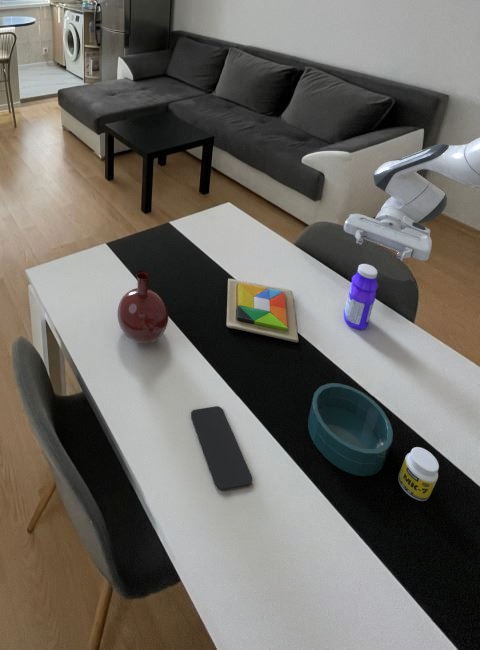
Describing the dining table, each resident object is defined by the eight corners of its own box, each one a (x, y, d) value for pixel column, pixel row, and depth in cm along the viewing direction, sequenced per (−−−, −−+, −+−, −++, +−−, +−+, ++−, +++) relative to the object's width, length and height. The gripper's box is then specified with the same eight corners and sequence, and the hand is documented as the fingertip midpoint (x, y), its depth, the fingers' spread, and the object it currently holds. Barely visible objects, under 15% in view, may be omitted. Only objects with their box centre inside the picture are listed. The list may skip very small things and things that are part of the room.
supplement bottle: (395, 486, 80) (405, 458, 77) (400, 466, 83) (411, 438, 80) (427, 508, 76) (439, 480, 73) (431, 486, 79) (443, 458, 76)
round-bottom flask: (144, 365, 105) (144, 303, 98) (107, 332, 115) (105, 273, 107) (178, 334, 113) (180, 275, 105) (141, 306, 122) (141, 250, 115)
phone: (221, 405, 94) (255, 483, 81) (221, 407, 95) (254, 485, 81) (189, 410, 94) (217, 489, 80) (188, 412, 94) (217, 492, 80)
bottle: (343, 307, 118) (354, 256, 112) (367, 314, 115) (380, 263, 109) (342, 326, 113) (354, 274, 106) (367, 334, 110) (382, 282, 103)
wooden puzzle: (226, 330, 113) (227, 321, 112) (227, 280, 130) (228, 271, 128) (298, 346, 108) (300, 336, 106) (290, 292, 124) (292, 283, 123)
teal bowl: (397, 446, 86) (405, 423, 83) (364, 493, 79) (372, 470, 76) (328, 393, 96) (334, 371, 94) (294, 430, 90) (299, 408, 87)
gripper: (353, 203, 130) (338, 224, 122) (438, 232, 117) (428, 257, 108) (349, 220, 133) (334, 242, 124) (431, 250, 119) (421, 277, 110)
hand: (378, 249), depth 116 cm, fingers open, 8 cm apart
